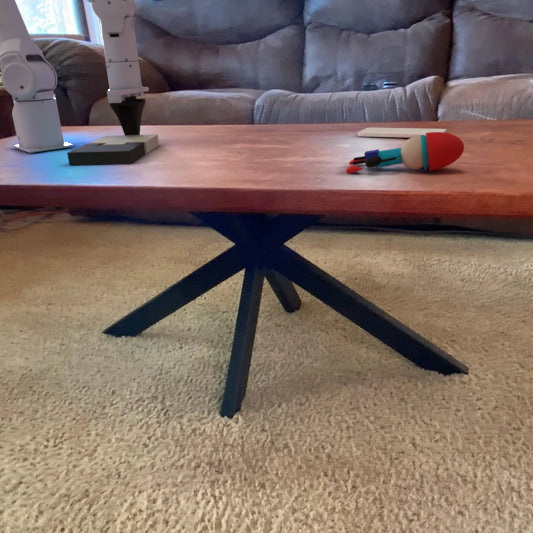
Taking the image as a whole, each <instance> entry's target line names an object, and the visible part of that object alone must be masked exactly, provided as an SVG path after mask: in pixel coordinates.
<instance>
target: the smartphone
mask: <svg viewBox="0 0 533 533" xmlns="http://www.w3.org/2000/svg"><path fill="white" fill-rule="evenodd" d="M429 132H443V133H447V129H446V128H421V127H420V128H418V127H417V128H416V127H415V128H414V127H366V128H364V129H361V130H359V131H358V132H357V136H358V137H378V138H379V137H380V138H413V137H421V135H425V136H426V133H429Z"/></svg>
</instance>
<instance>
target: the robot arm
mask: <svg viewBox="0 0 533 533" xmlns="http://www.w3.org/2000/svg"><path fill="white" fill-rule="evenodd" d="M86 1H87V2H88V3H89V4H91V8H92V10H93V13H94V14H95V15H96V17H97V18H98V19H99V23H100V29H101V39H102V46H103V53H104V59H105V67H106V74H107V80H108V87H109V88H108V90H107V91H106V94H107V101H108V104H109V106H110V109H112V111H113V113H114V114H115V116H116V117H117V119H118V121H119V124H120V126H121V129H122V132H123V135H141V122H142V116H143V112H144V108H145V107H146V106H145V105H146V103H147V102H146V98H137V97H144V92H145V93H146V92H149V91H150V90H149V89H150V88H149V86H143V85H142V84H143V83H142V76H141V68H140V62H139V52H138V43H137V35H136V32H135V25H134V18H133V17H134V15H135V13H136V3H135V0H86ZM0 80H1V84H2V86H3V87H4V89H5V91H6V92H7V93H9V94H10V95H11V96H12V97H11V98H12V101H13V107H12V111H11V115H12V120H13V125H14V130H15V135H16V138H17V144H13V148H14V149H18V150H20V151H23V152H26V153H29V154H32V153H38V152H45V151H53V150H59V149H66V148H72V147H73V144H72V143H69V142H65V140H64V136H63V130H62V129H63V128H62V124H61V119H60V113H59V109H58V104H57V98H56V94H55V92H54V91H55V90H56V87H57V85H58V75H57V71H56V70H55V68H54V67H53V66H52V65H51V63H49V61H48V60H47V59H46V58H45V56H44V52H43V51H42V49H41V48H40V47H39V46H38V45H37V44H36V43H35V41H33V39H32V37H31V36H30V33H29V30H28V28H27V25H26V24H25V21H24V19H23V16H22V14H21V12H20V9H19V7H18V4H17V2H16V0H0Z"/></svg>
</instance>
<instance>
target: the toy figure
mask: <svg viewBox="0 0 533 533" xmlns="http://www.w3.org/2000/svg"><path fill="white" fill-rule="evenodd" d="M464 151H465V144H464V142H463V140H462V139H461V138H460V137H458V136H456V135H454V134H452V133H449V132H446V133H443V132H429V133H426V136H425V135H421V137H413V138H411V137H409V138H408V139H407V140H405V141H404V142H403V143H402V145H401V147H395V148H390V149H383V150H380V149H372V150H366V151H365V152H364V153H363V154H364V155H362V156H357V157H356V156H355V157H354V158H353V159H351V160H350V161H349V162H348V164H349V166H347V167H346V170H345V172H346V173H347V174H353V173H356V172H359V171H361V170H363V169H364V168H363V167H359V166H357V165H360V164H361V165H362V164H364V165H365V167H366V168H368V169H369V168H375V167H376V169H378V168H384V167H390V166H391V167H392V166H396V165H397V166H398V165H404V167H406V168H408V169H411V170H420V169H423V171H426V170H428V171H429V172H432V171H436V170H441V169H443V168H446V167H448V166H450V165H452V164H454V163H455V162H456V161H457V160H459V159H460V157H462V155H463V153H464Z"/></svg>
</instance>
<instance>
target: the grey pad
mask: <svg viewBox="0 0 533 533" xmlns="http://www.w3.org/2000/svg"><path fill="white" fill-rule="evenodd" d="M139 142H144V147H145V154H149V153H150V152H151V151H153V150H155V149H156V148H157V147H158V146H160V142H159V134H155V133H153V134H140V135H125V134H123V135H121V134H120V135H104V136H102V137H100V138H98V139H95V140H93V141H90V142H89V143H88V144H101V145H127V144H128V143H139Z"/></svg>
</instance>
